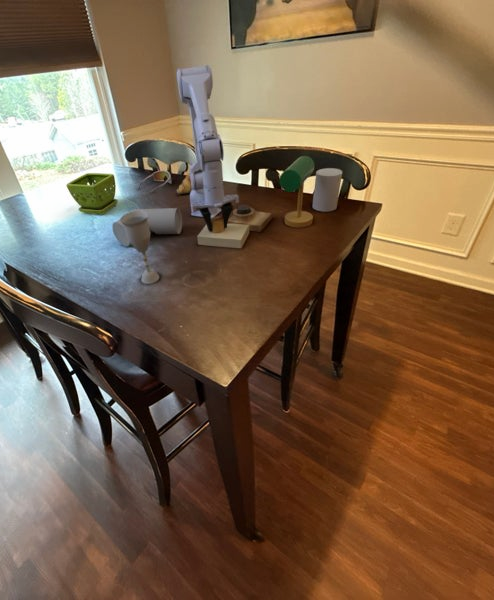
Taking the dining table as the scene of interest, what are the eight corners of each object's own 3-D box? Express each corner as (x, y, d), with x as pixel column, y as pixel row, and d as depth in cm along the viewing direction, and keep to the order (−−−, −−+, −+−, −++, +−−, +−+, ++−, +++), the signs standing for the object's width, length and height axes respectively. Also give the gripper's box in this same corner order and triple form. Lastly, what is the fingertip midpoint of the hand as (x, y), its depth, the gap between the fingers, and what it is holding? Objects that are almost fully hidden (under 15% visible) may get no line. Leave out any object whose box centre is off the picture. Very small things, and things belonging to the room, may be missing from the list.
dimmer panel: (198, 244, 98) (197, 235, 96) (208, 230, 106) (208, 221, 104) (241, 248, 94) (240, 239, 92) (249, 233, 101) (249, 224, 99)
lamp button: (235, 214, 105) (234, 209, 104) (240, 209, 108) (240, 204, 107) (247, 215, 103) (246, 210, 102) (252, 210, 106) (252, 205, 105)
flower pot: (76, 215, 129) (64, 184, 121) (97, 202, 138) (87, 172, 130) (103, 217, 124) (93, 185, 116) (123, 203, 133) (114, 173, 126)
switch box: (227, 226, 106) (226, 215, 104) (239, 215, 113) (239, 204, 110) (260, 232, 101) (260, 220, 98) (271, 219, 107) (271, 208, 105)
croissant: (184, 204, 134) (188, 190, 128) (167, 191, 136) (170, 175, 130) (214, 187, 146) (219, 173, 139) (199, 175, 148) (203, 160, 141)
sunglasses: (178, 182, 147) (175, 172, 144) (155, 197, 141) (152, 187, 137) (158, 178, 155) (155, 168, 152) (136, 192, 149) (132, 182, 145)
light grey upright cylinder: (337, 211, 107) (343, 175, 99) (313, 211, 109) (317, 176, 101) (335, 202, 113) (340, 167, 105) (311, 202, 115) (315, 168, 107)
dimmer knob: (214, 234, 96) (213, 223, 94) (208, 229, 99) (207, 218, 97) (226, 230, 97) (226, 219, 95) (220, 225, 101) (219, 214, 98)
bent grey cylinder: (154, 215, 117) (111, 238, 105) (153, 189, 109) (106, 210, 98) (190, 235, 110) (148, 261, 98) (191, 208, 102) (145, 234, 91)
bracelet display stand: (277, 228, 102) (279, 169, 90) (291, 211, 111) (295, 155, 99) (305, 232, 97) (312, 171, 86) (317, 214, 106) (324, 156, 95)
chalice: (139, 272, 89) (122, 213, 78) (162, 269, 89) (149, 209, 78) (136, 287, 83) (117, 225, 72) (162, 284, 83) (147, 221, 72)
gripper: (192, 194, 85) (198, 239, 94) (242, 184, 88) (243, 228, 96) (186, 187, 91) (192, 229, 99) (233, 177, 93) (235, 219, 102)
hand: (217, 228), depth 98 cm, fingers closed on dimmer knob, 4 cm apart
